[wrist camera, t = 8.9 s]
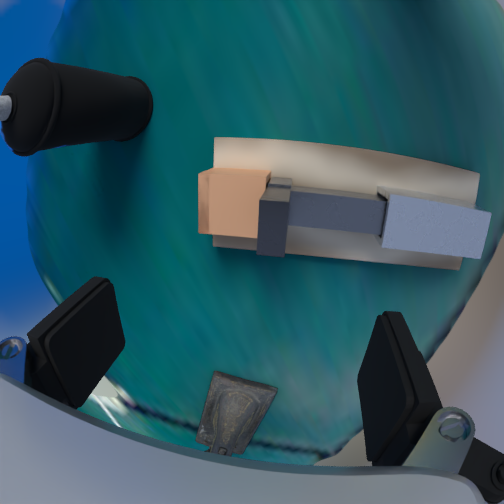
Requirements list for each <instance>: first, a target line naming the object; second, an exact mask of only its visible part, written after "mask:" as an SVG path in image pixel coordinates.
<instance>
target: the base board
mask: <svg viewBox="0 0 504 504" xmlns="http://www.w3.org/2000/svg"><path fill="white" fill-rule="evenodd" d="M214 168H237V169H255V170H270V171H271V178H272V177H280V178H292V185H294V186H305V187H315V188H325V189H334V190H343V191H351V192H359V193H367V194H374V195H376V188H377V185H381V186H387V187H394V188H400V189H406V190H412V191H418V192H424V193H429V194H434V195H440V196H445V197H450V198H455V199H459V200H464V201H469V202H471V203H473V204H475V202H476V197H477V191H478V184H479V177H480V174H479V173H476V172H473V171H469V170H465V169H461V168H457V167H453V166H449V165H445V164H441V163H437V162H432V161H428V160H423V159H418V158H413V157H408V156H403V155H397V154H392V153H386V152H380V151H374V150H368V149H361V148H354V147H346V146H339V145H330V144H321V143H312V142H301V141H289V140H274V139H256V138H227V137H214ZM213 246H216V247H226V248H236V249H247V250H257V238H249V237H238V236H226V235H215V234H213ZM285 253H288V254H299V255H309V256H319V257H329V258H340V259H350V260H360V261H370V262H380V263H390V264H401V265H411V266H421V267H431V268H441V269H451V270H459V269H460V266H461V262H462V259H463V257H459V256H451V255H443V254H434V253H426V252H417V251H408V250H399V249H390V248H382V247H381V246H380V244H379V243H378V242H377V240H376V239H375V237H374V236H373V234H367V233H358V232H349V231H340V230H330V229H320V228H310V227H300V226H290V225H288V233H287V241H286V248H285Z"/></svg>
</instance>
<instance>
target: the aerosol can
mask: <svg viewBox="0 0 504 504" xmlns="http://www.w3.org/2000/svg"><path fill="white" fill-rule="evenodd" d="M152 108H153V99H152V95H151V92H150V90H149V87H148V86H147V85H146V84H145V83H144V82H143V81H142V80H141V79H138V78H136V77H132V76H127V77H124V76H120V75H115V74H111V73H107V72H102V71H97V70H92V69H87V68H82V67H77V66H71V65H65V64H59V63H52V62H50V61H49V60H47V59H44V58H35V59H32V60H30V61H28V62H26V63H25V64H24V65H23V66H21V67H20V68H19V69H18V71H17V72H16V73H15V74H14V75H13V76H12V78H11V79H10V80H9V81H8V83H7V84H6V86H5V88H4V90H3V92H2V95H1V96H0V134H1V136H2V138H3V139H4V141H5V142H6V144H7V145H8V147H9V148H10V150H11V151H12V152H14V153H15V154H16V155H19V156H30V155H33V154H34V153H36V152H37V151H40V150H46V149H51V148H57V147H64V146H70V145H77V144H84V143H92V142H100V141H109V140H115V141H127V140H130V139H132V138H134V137H135V136H137V135H138V134H139V133H141V132H142V131H143V129H144V128H145V127H146V125H147V124H148V121H149V119H150V117H151V113H152Z"/></svg>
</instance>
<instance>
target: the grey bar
mask: <svg viewBox="0 0 504 504" xmlns="http://www.w3.org/2000/svg"><path fill="white" fill-rule="evenodd" d="M387 201H388V199H387V198H385V197H384V196H381V195H374V194H367V193H359V192H351V191H343V190H334V189H325V188H315V187H305V186H294V185H292V178H280V177H272V178H271V180H270V181H269V183H267V184H266V190H265V191H264V193H263V195H262V196H261V198H260V199H259V216H258V235H257V254H256V255H265V256H276V257H284V256H285V248H286V241H287V233H288V225H290V226H300V227H310V228H320V229H330V230H340V231H349V232H358V233H367V234H376V235H382V232H383V226H384V220H385V214H386V208H387Z"/></svg>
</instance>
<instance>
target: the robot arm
mask: <svg viewBox="0 0 504 504" xmlns="http://www.w3.org/2000/svg"><path fill="white" fill-rule="evenodd" d="M27 336H28V338H29V341H30V342H29V343H28V344H27V343H26V341H25V340H24V339H23V338H21V337H17V336H13V337H12V336H11V337H8V338H6V339H4V340H2V341H1V342H0V504H504V454H502V453H501V452H499V451H497V450H495V449H494V448H492V447H490V446H488V445H487V444H485V443H483V442H481V441H480V440H478V439H476V438H474V435H475V424H474V422H473V420H472V418H471V417H470V416H469V415H468V414H467V413H466V412H465V411H463V410H462V409H459V408H456V407H445V408H443V407H442V404H441V401H440V399H439V396H438V393H437V390H436V388H435V385H434V383H433V380H432V378H431V375H430V373H429V370H428V368H427V365H426V363H425V360H424V358H423V356H422V354H421V352H420V351H418V349H417V346H416V344H415V342H414V339H413V337H412V335H411V333H410V330H409V328H408V326H407V324H406V322H405V320H404V317H403V315H402V313H401V312H392V311H384V312H383V314H382V315H378V316H377V319H376V322H375V325H374V328H373V332H372V335H371V338H370V341H369V344H368V347H367V350H366V353H365V356H364V359H363V362H362V365H361V368H360V370H359V373H358V379H357V383H358V390H359V397H360V404H361V411H362V419H363V427H364V436H365V445H366V455H367V460H368V461H372V466H360V467H336V466H331V467H330V466H311V465H294V464H282V463H272V462H264V461H256V460H249V459H242V458H236V457H230V456H224V455H219V454H214V453H209V452H204V451H200V450H195V449H191V448H187V447H183V446H179V445H175V444H171V443H168V442H164V441H161V440H157V439H154V438H150V437H147V436H144V435H141V434H138V433H135V432H132V431H129V430H126V429H123V428H120V427H118V426H115V425H112V424H110V423H107V422H104V421H102V420H99V419H97V418H94V417H92V416H90V415H87V414H85V413H82V412H80V411H78V410H77V408H78V407H81V406H82V405H83V404H84V403H85V401H86V400H87V398H88V397H89V395H90V394H91V393H92V391H93V390H94V388H95V387H96V386H97V384H98V383H99V381H100V380H101V378H102V377H103V376H104V375H105V373H106V372H107V370H108V369H109V368H110V366H111V365H112V364H113V362H114V361H115V360H116V358H117V357H118V356H119V354H120V353H121V352H122V350H123V349H124V346H125V338H124V334H123V329H122V325H121V320H120V316H119V311H118V306H117V301H116V296H115V291H114V286H113V284H112V283H110V280H109V279H107V278H102V277H93V278H91V279H90V280H89V281H88V282H86V283H85V284H84V285H83V286H82V287H80V288H79V289H78V290H77V291H75V292H74V293H73V294H72V295H71V296H69V297H68V298H67V299H66V300H65V301H64V302H62V303H61V304H60V305H59V306H58V307H56V308H55V309H54V310H53V311H52V312H51V313H50V314H48V315H47V316H46V317H45V318H44V319H43V320H42V321H41V322H39V323H38V324H37V325H36V326H35V327H34V328H33V329H32V330H31V331H29V332H28V333H27Z"/></svg>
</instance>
